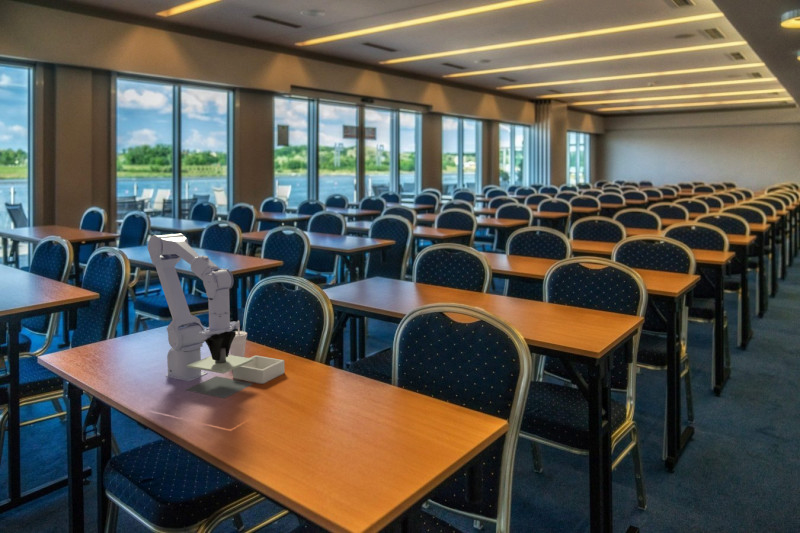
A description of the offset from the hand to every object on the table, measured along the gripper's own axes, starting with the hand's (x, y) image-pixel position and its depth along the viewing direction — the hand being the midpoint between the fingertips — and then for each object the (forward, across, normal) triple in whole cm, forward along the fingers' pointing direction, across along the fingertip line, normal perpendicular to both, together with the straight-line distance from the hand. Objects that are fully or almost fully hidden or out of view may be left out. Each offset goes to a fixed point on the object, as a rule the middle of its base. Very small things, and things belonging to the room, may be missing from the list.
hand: (220, 358), depth 172 cm
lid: (+2, 0, 0) cm, 2 cm away
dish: (+9, +13, -4) cm, 16 cm away
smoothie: (+9, +21, +11) cm, 26 cm away
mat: (+9, 0, 0) cm, 9 cm away
